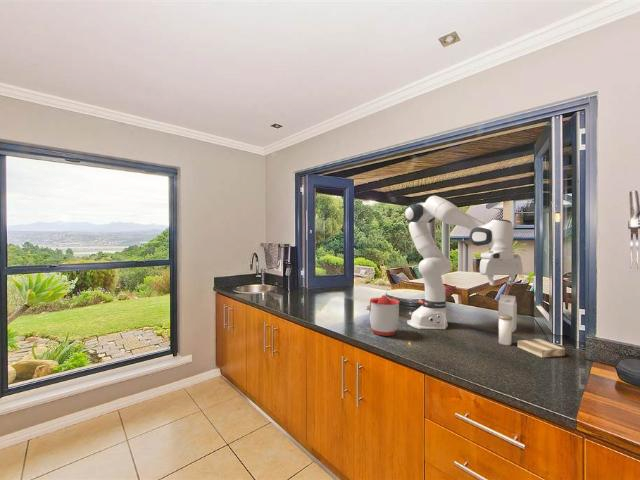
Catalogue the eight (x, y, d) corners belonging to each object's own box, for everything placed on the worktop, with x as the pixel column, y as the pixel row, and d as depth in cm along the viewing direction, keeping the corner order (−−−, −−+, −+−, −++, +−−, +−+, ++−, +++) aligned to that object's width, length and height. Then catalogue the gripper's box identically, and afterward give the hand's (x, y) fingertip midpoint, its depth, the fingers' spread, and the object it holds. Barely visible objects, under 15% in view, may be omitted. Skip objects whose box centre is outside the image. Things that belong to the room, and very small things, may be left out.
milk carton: (501, 326, 164) (502, 293, 164) (516, 329, 159) (517, 295, 159) (498, 329, 159) (498, 295, 159) (513, 332, 154) (513, 297, 154)
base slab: (542, 357, 123) (542, 350, 123) (517, 346, 134) (517, 340, 134) (564, 355, 125) (565, 348, 125) (538, 345, 137) (538, 338, 137)
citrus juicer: (366, 326, 162) (366, 291, 162) (398, 329, 159) (398, 292, 159) (364, 336, 147) (365, 297, 147) (400, 339, 144) (400, 298, 143)
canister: (504, 345, 136) (505, 318, 135) (495, 341, 141) (495, 314, 141) (514, 344, 137) (515, 317, 137) (505, 340, 142) (505, 314, 142)
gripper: (514, 253, 137) (514, 282, 137) (477, 254, 133) (477, 284, 133) (526, 254, 131) (526, 285, 131) (488, 255, 127) (487, 286, 127)
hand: (501, 284), depth 132 cm, fingers open, 8 cm apart
